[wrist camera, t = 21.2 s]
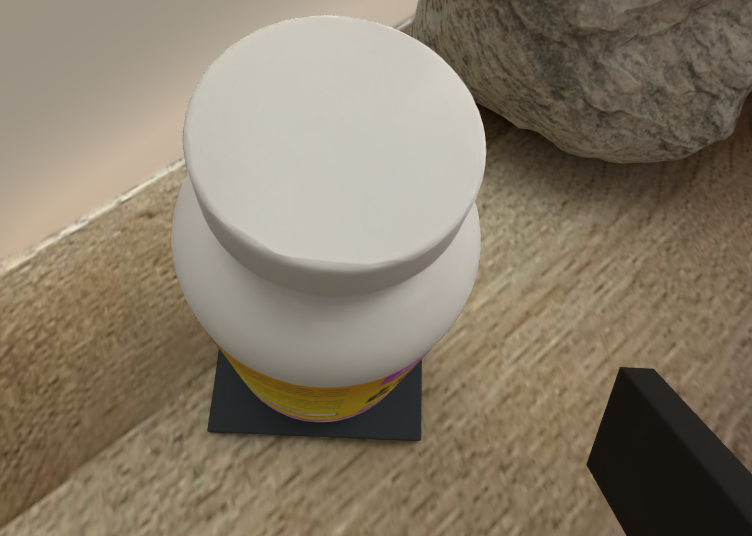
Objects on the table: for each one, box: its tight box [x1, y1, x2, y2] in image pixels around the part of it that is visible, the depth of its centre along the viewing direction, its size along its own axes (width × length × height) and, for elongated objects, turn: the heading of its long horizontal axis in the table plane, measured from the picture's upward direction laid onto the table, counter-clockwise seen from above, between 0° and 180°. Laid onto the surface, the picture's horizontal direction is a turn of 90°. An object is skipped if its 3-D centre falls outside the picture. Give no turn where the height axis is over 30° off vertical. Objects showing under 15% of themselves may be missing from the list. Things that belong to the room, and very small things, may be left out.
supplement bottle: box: [171, 15, 486, 422], centre depth 14 cm, size 7×7×13 cm
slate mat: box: [208, 349, 422, 441], centre depth 20 cm, size 8×8×1 cm
